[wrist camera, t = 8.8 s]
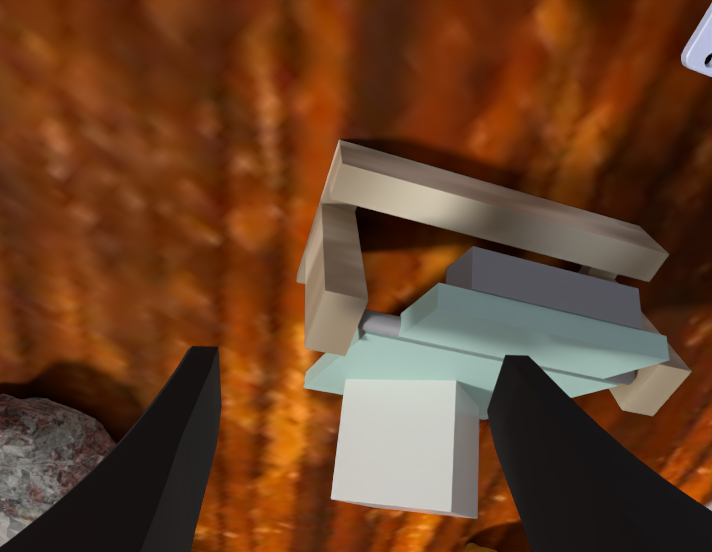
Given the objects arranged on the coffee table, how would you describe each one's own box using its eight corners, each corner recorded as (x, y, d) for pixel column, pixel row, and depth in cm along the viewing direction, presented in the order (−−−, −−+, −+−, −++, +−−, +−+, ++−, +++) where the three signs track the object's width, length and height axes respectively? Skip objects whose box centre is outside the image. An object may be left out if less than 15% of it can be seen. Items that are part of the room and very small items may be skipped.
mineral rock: (161, 534, 34) (144, 608, 31) (28, 537, 34) (-6, 614, 30) (128, 358, 26) (100, 430, 23) (-48, 356, 26) (-108, 430, 22)
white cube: (456, 380, 22) (451, 511, 20) (479, 407, 27) (477, 518, 24) (345, 379, 24) (330, 499, 22) (383, 404, 28) (373, 507, 26)
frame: (639, 226, 24) (737, 318, 18) (566, 335, 27) (630, 441, 22) (339, 139, 21) (349, 220, 15) (296, 274, 24) (293, 380, 19)
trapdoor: (695, 303, 18) (705, 367, 17) (489, 380, 30) (489, 420, 29) (401, 227, 16) (395, 297, 15) (304, 344, 28) (297, 386, 27)
